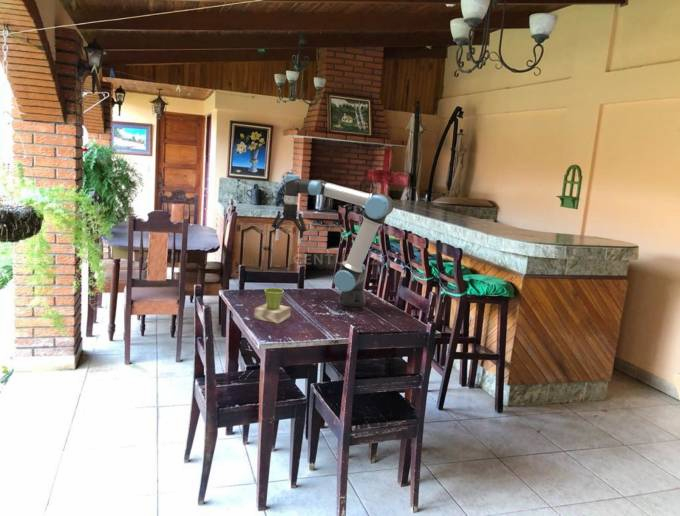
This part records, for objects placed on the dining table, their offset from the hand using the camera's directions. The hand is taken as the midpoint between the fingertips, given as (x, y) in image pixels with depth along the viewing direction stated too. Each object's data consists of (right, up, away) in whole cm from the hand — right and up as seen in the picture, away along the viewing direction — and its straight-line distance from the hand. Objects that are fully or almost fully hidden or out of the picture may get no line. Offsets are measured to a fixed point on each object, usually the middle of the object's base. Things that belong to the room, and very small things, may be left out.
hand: (288, 242), depth 289 cm
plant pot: (-4, -33, -32) cm, 47 cm away
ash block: (-5, -38, -32) cm, 49 cm away
